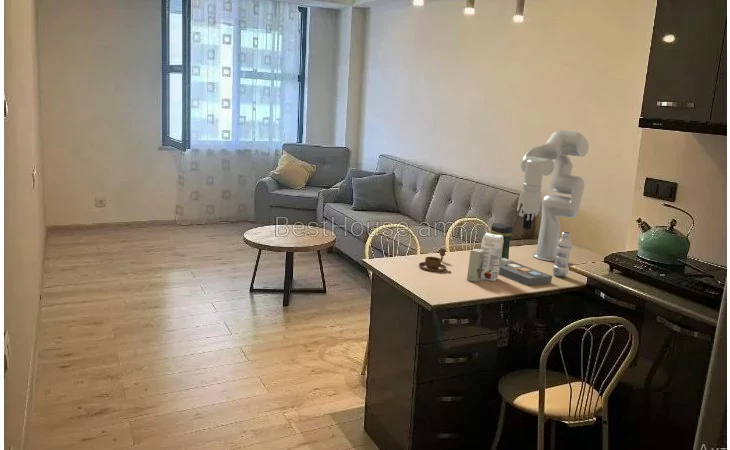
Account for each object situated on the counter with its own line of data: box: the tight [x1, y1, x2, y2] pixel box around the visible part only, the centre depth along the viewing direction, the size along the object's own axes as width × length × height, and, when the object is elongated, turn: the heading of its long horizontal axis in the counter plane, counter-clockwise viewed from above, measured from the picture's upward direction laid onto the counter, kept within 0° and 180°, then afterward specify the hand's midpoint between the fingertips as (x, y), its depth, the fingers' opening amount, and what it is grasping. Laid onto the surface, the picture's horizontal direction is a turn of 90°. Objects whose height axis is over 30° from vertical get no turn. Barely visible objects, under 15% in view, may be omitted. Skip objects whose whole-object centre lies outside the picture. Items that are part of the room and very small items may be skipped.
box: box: [466, 248, 484, 283], centre depth 264 cm, size 5×4×13 cm
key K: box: [501, 258, 512, 265], centre depth 284 cm, size 4×4×2 cm
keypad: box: [499, 260, 553, 287], centre depth 278 cm, size 14×25×3 cm, turn 33°
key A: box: [507, 264, 521, 270], centre depth 280 cm, size 4×4×2 cm
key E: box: [528, 271, 542, 277], centre depth 270 cm, size 4×4×2 cm
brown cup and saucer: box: [418, 249, 452, 275], centre depth 280 cm, size 18×20×6 cm
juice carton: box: [480, 232, 504, 282], centre depth 268 cm, size 8×9×19 cm
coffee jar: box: [490, 222, 513, 260], centre depth 296 cm, size 10×8×19 cm
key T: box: [517, 268, 531, 274], centre depth 275 cm, size 4×4×2 cm
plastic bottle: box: [552, 231, 573, 278], centre depth 282 cm, size 6×7×20 cm
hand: (526, 228), depth 282 cm, fingers closed
